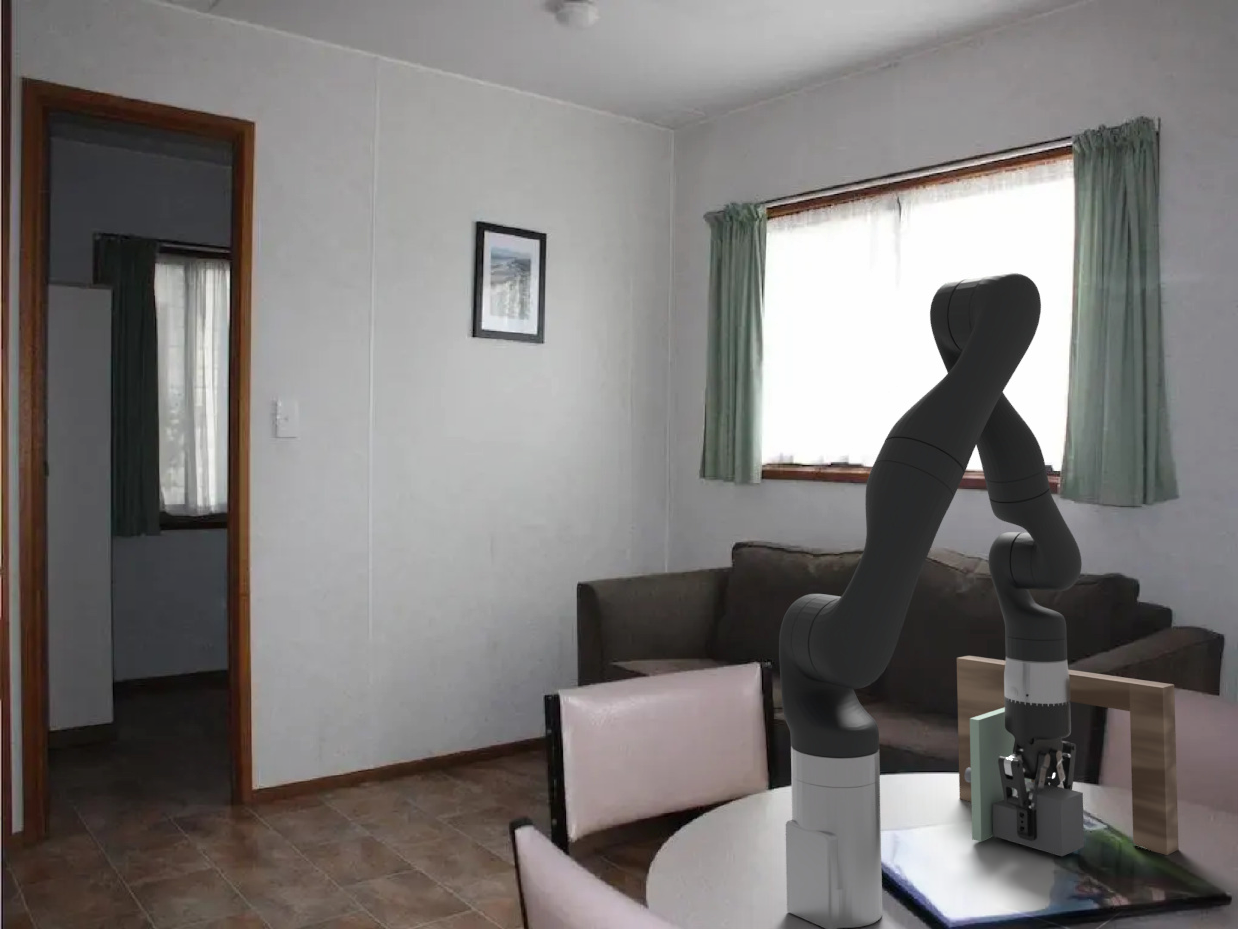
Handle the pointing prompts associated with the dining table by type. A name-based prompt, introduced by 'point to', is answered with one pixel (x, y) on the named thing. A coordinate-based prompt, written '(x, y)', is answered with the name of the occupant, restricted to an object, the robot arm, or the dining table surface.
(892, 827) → the dining table surface
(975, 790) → the door
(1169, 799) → the wall frame
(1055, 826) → the grey stepped block
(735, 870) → the dining table surface
